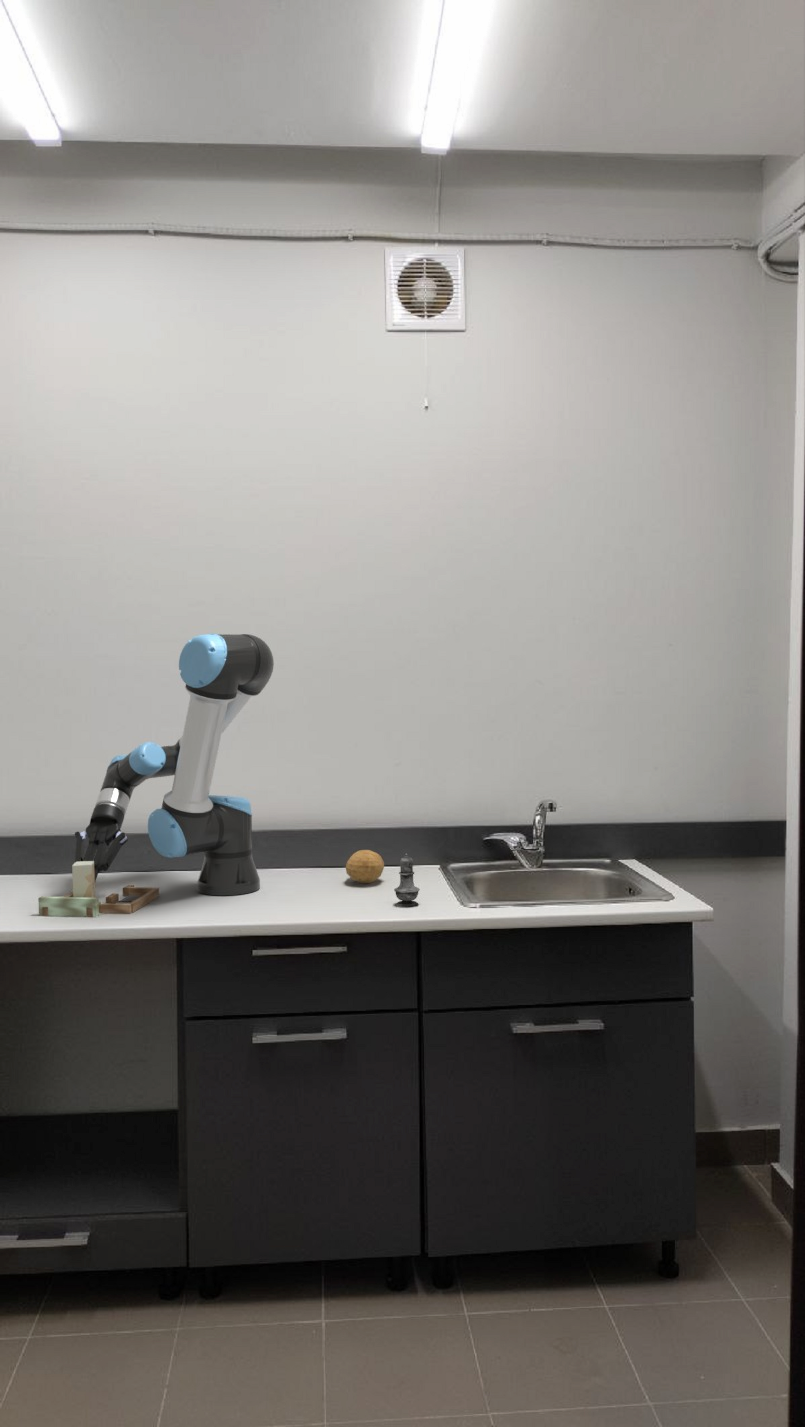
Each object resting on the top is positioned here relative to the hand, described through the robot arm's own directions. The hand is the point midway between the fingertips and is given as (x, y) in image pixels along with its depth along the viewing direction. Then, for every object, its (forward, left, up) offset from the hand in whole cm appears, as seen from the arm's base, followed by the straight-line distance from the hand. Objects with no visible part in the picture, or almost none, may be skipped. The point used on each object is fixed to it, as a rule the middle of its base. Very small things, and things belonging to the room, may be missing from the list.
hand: (81, 894), depth 255 cm
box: (-2, +3, -3) cm, 5 cm away
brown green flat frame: (-4, -4, -3) cm, 6 cm away
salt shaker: (-74, -10, -3) cm, 75 cm away
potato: (-60, -33, -3) cm, 69 cm away
